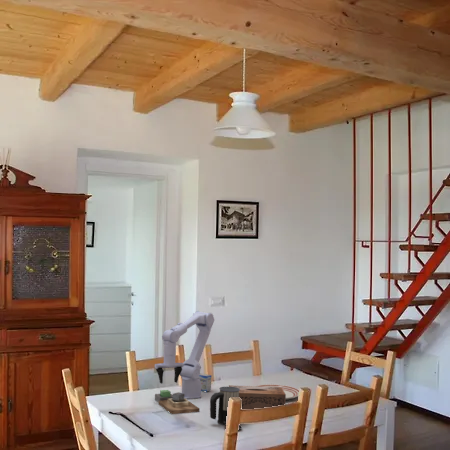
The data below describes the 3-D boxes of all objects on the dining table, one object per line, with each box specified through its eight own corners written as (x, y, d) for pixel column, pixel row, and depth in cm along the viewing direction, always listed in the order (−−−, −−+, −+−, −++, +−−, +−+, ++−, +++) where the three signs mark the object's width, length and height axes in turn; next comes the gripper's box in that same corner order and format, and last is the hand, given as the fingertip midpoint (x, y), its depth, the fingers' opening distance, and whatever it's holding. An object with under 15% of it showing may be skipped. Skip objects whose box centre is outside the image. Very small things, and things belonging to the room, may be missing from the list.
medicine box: (194, 390, 310) (194, 374, 311) (198, 389, 314) (199, 372, 315) (207, 392, 307) (207, 376, 307) (211, 391, 311) (211, 374, 311)
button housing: (169, 398, 292) (170, 393, 292) (175, 402, 285) (175, 396, 285) (154, 399, 289) (155, 394, 289) (159, 403, 282) (160, 398, 282)
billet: (177, 402, 278) (178, 392, 278) (184, 404, 276) (184, 393, 276) (172, 404, 275) (172, 393, 275) (178, 406, 272) (178, 395, 273)
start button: (167, 394, 290) (167, 389, 290) (170, 396, 286) (170, 391, 286) (160, 395, 288) (160, 390, 288) (162, 397, 284) (162, 392, 284)
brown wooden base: (185, 401, 286) (185, 394, 286) (199, 411, 270) (199, 404, 270) (158, 403, 280) (158, 396, 280) (170, 414, 264) (171, 406, 264)
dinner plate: (283, 406, 287) (283, 399, 287) (238, 396, 303) (238, 389, 303) (310, 396, 309) (310, 390, 309) (267, 387, 325) (267, 381, 325)
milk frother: (226, 418, 261) (228, 385, 262) (254, 426, 251) (256, 391, 252) (205, 424, 250) (207, 390, 251) (234, 433, 240) (235, 397, 241)
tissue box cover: (280, 407, 284) (281, 387, 285) (284, 416, 270) (285, 394, 270) (227, 406, 283) (228, 385, 283) (229, 414, 269) (230, 392, 269)
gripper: (180, 352, 292) (179, 379, 292) (153, 353, 286) (151, 381, 286) (185, 355, 286) (184, 383, 285) (157, 356, 280) (156, 384, 279)
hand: (168, 382), depth 285 cm, fingers open, 7 cm apart
